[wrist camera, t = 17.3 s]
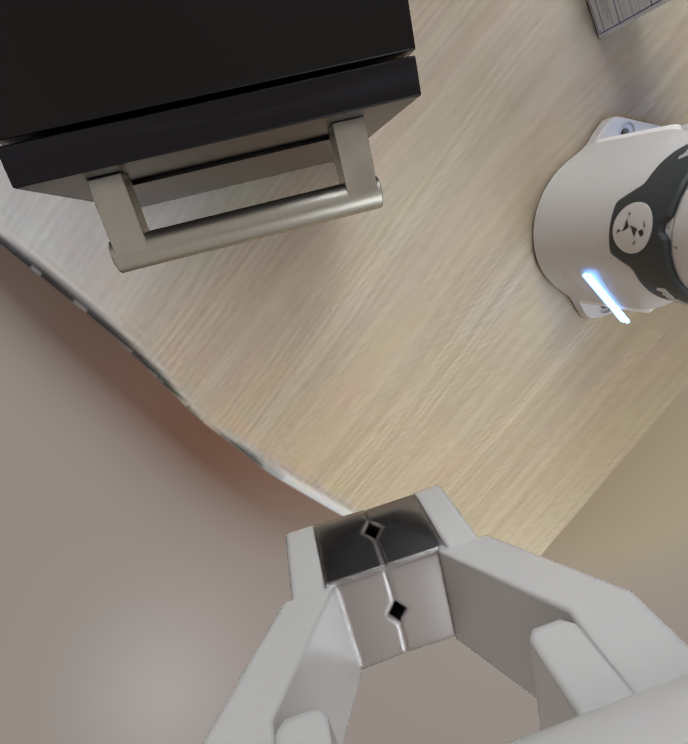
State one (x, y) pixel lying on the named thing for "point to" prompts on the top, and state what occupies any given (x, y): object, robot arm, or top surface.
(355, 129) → the oven door
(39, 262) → the top surface
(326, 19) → the oven
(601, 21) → the medicine box
